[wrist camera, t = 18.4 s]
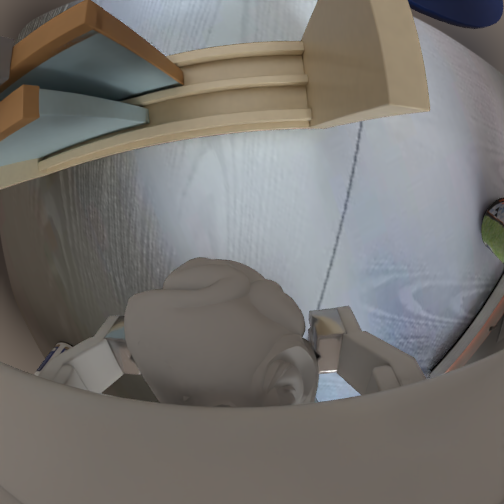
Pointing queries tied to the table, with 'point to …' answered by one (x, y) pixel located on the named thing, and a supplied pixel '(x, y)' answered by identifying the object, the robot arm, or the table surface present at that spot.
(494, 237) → the beverage can
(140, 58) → the window pane
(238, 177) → the table surface
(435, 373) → the picture frame
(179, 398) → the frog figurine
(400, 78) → the window frame
